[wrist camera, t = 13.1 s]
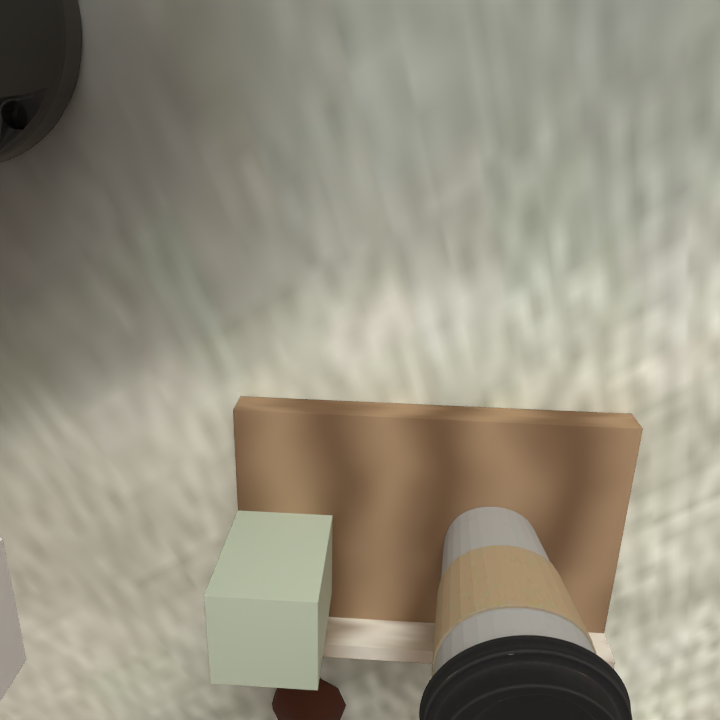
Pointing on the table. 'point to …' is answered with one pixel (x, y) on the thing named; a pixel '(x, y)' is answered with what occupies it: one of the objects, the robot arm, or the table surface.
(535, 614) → the coffee cup
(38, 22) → the robot arm
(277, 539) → the pale green box
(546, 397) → the table surface
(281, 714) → the ice cream bowl
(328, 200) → the table surface
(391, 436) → the shelf board
